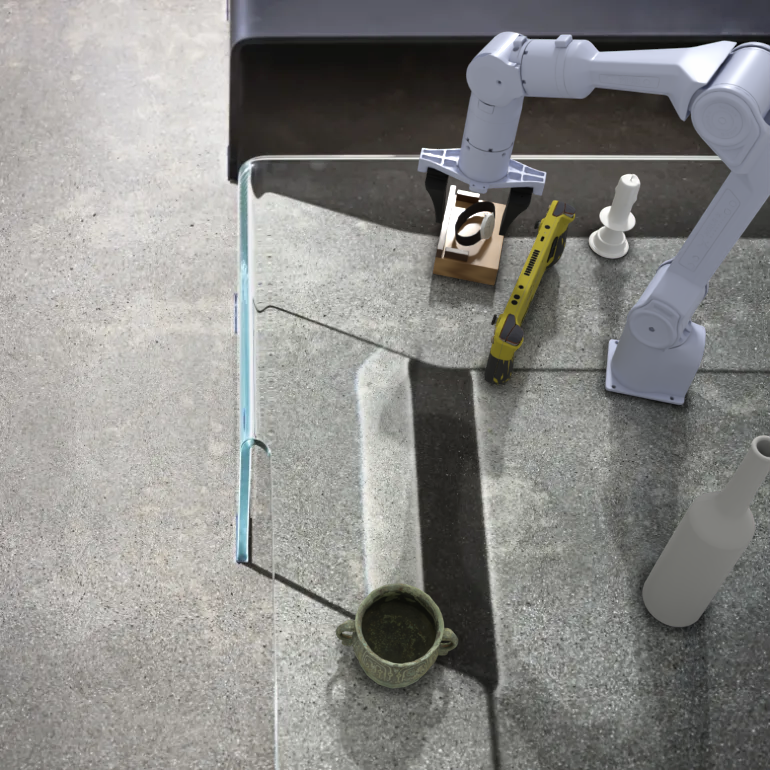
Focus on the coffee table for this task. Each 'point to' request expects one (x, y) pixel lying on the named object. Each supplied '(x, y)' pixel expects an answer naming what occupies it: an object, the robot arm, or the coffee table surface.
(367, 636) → the vessel
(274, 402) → the coffee table surface
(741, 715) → the coffee table surface
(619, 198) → the candle
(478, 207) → the watch
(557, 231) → the yellow power tool
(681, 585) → the bottle
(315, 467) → the coffee table surface
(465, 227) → the shelf
